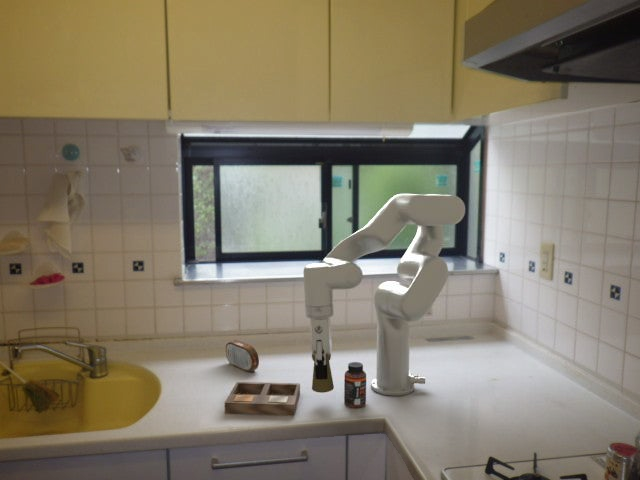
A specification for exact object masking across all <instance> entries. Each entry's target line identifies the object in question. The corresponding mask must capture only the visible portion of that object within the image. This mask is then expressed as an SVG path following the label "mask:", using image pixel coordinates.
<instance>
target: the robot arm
mask: <svg viewBox="0 0 640 480" xmlns="http://www.w3.org/2000/svg"><path fill="white" fill-rule="evenodd" d="M465 215H466V205H465V202H464V201H463V200H462V199H461V198H460V197H459V196H457V195H453V194H438V193H437V194H434V193H431V194H430V193H429V194H417V193H416V194H414V193H399V194H396V195H393V197H391V198H390V199H389V200H388V201H387V202H386V203H385V204H384V205H383V207H382V208H381V209H380V210H378V212H377V213H376V214H375V215H374V216H373V218H372V219H370V220H369V222H368V223H367V224H366V225H365V226H364V227H363V228H360V229H359V230H357V231H356V232H354V233H352V234H351V235H349V236H348V237H346V238H345V239H343V240H341V241H340V242H339V243H338V244H336V245H335V246H334V247H333V248H332V250H331V251H329V253H327V255H326V256H325V257H324V258H323V260H322V261H321V263H320V262H319V263H318V262H317V263H310V264H307V265H305V266H304V268H303V286H304V287H303V289H304V307H305V308H304V309H305V310H304V311H305V313H304V314H305V318H307V319H309V321H310V322H309V323H310V324H309V325H310V342H311V354H312V353H313V354H314V355H315V376H316V379H327V378H328V374H327V364H326V354H328V355H329V354H330V353H331V354H332V348H333V340H332V339H333V338H332V324H331V318H332V317H333V316H335V315H334V299H333V298H334V295H333V294H334V293H333V291H335V290H336V291H339V290H346V291H348V290H353V289H355V288H357V287H358V286H359V285H360V284H361V282H362V280H363V277H364V275H363V270H362V269H361V267H360V266H359V265H358V264H356V263H355V262H356V260H358V259H360V258H362V257H363V256H366V255H368V254H372V253H376V252H380V251H382V250H385V249H386V248H388V247H389V246H390V245H391V244H392V243H393V242H394V240H395V239H396V238H397V237H398V236H399V235H400V234H401V233H402V232H403V230H404V229H405V228H406V227H407V226H408V225H411V226H412V225H414V226H417V230H416V234H415V237H414V238H413V240H412V242H411V244H409V246H408V248H407V250H406V251H405V253H404V254H403V255H402V257H401V259H400V260H399V262H398V264H397V268H396V273H397V276H398V277H399V278H400V280H402V281H404V282H406V283H409V284H410V285H408V284H406V283H403V282H398V281H393V280H392V281H391V280H390V281H385V282H382V283H381V284H379V285H378V287H377V288H376V289H375V292H374V296H373V301H374V303H373V304H374V308H375V309H374V310H375V314H376V315H375V316H376V376H375V378H374V379H372V380H371V382H370V387H371V389H372V390H373V391H375V392H376V393H378V394H381V395H384V396H393V397H394V396H395V397H396V396H398V397H399V396H405V395H408V394H411V393H413V391H414V390H415V384H419V385H425V384H426V377H425V376H422V377H421V375H420V374H412V373H411V372H410V347H411V346H410V339H411V327H410V323H416V322H417V323H418V322H419V321H421V320H422V319H423V318H424V317H425V316H427V314H428V313H429V311H430V309H431V308H432V306H433V305H434V303H435V302H436V300H437V298H438V297H439V295H440V294H441V292H442V290H443V289H444V287H445V285H446V282H447V280H448V276H449V267H448V264H447V263H446V261H445V260H444V259H443V258H442V257H440V256H439V254H440V253H441V251H442V248H443V247H444V243H445V235H444V229H443V226H453V225H457V224H458V223H460V222H461V221H462V220H463V218H464V217H465ZM322 351H324V353H322ZM322 356H324V359H323V358H322Z"/></svg>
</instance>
